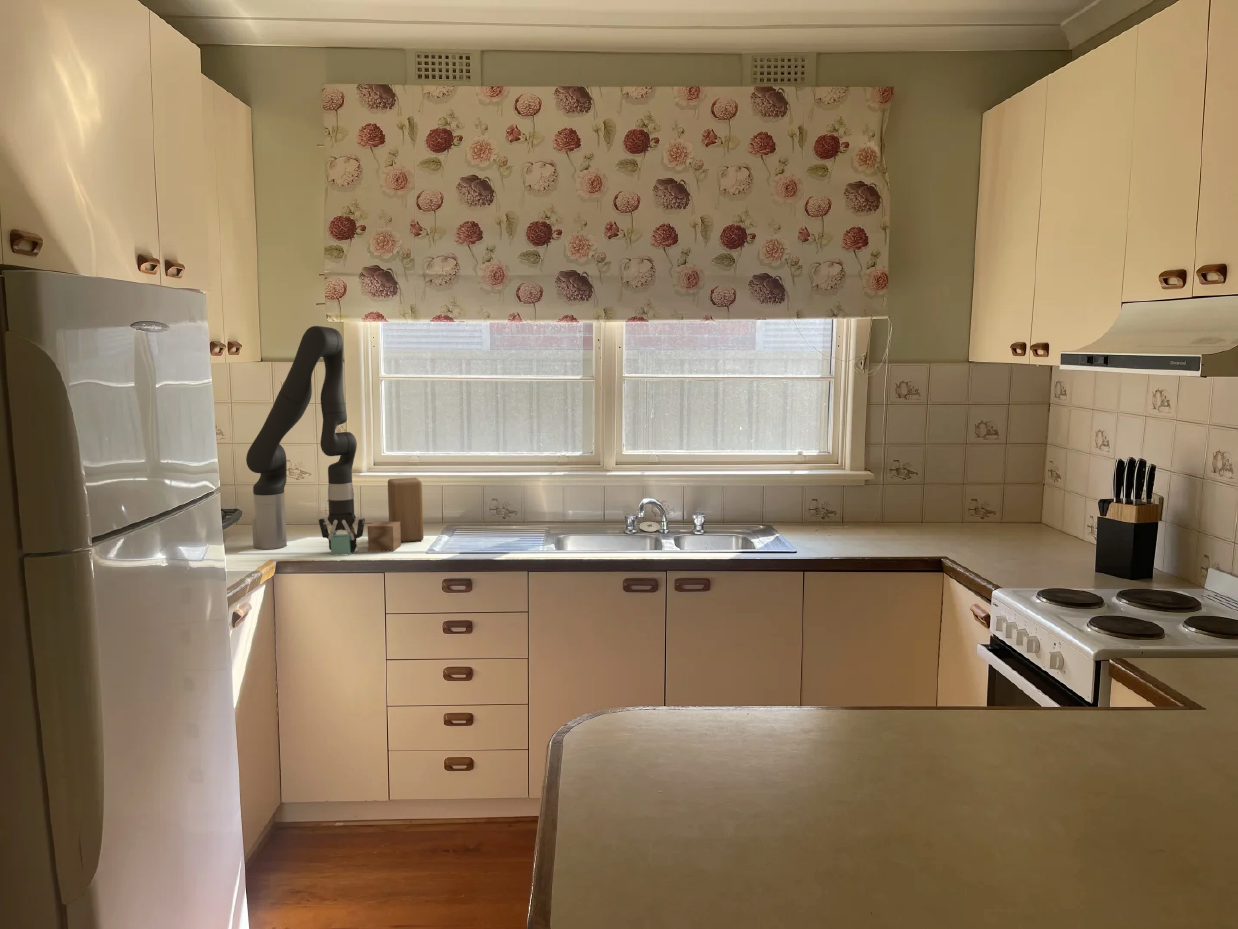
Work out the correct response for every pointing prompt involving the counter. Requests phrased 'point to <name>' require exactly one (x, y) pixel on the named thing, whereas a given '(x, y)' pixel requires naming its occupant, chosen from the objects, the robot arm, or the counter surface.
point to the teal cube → (340, 544)
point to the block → (406, 507)
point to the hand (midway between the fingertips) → (343, 551)
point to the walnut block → (384, 536)
